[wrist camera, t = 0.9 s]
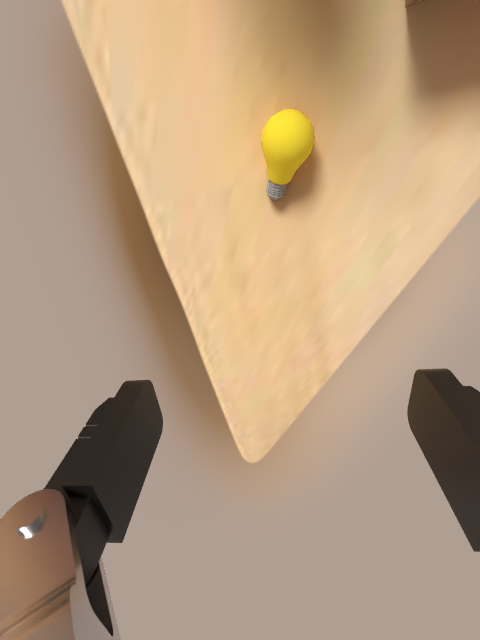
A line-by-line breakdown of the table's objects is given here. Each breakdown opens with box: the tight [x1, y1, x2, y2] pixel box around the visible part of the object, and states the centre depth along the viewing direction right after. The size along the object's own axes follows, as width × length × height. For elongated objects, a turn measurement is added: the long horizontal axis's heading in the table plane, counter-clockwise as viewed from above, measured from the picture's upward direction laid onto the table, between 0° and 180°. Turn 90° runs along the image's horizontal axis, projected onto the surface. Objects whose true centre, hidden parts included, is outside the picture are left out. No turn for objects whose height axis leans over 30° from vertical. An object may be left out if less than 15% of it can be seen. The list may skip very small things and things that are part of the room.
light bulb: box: [261, 109, 315, 201], centre depth 22 cm, size 3×6×4 cm, turn 170°
